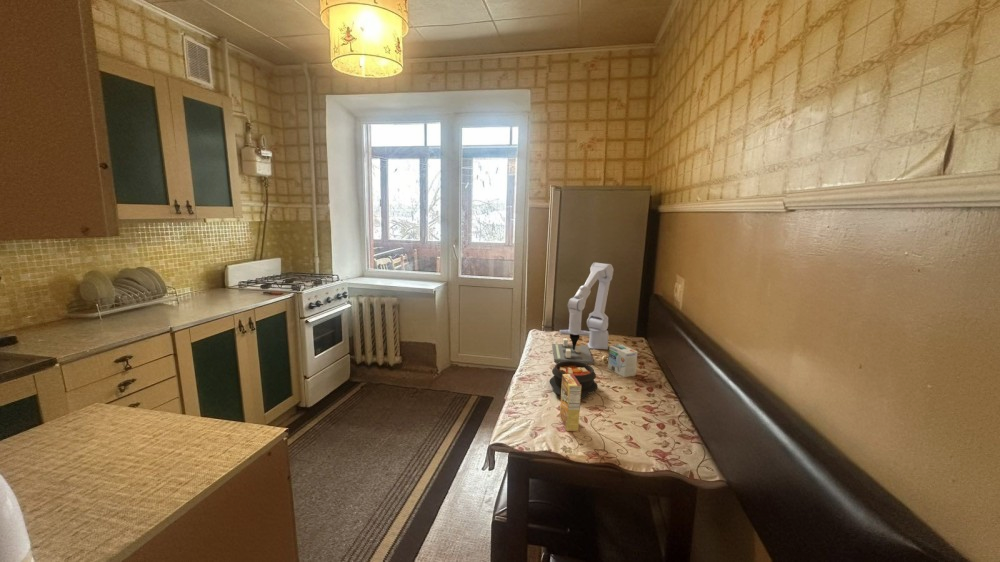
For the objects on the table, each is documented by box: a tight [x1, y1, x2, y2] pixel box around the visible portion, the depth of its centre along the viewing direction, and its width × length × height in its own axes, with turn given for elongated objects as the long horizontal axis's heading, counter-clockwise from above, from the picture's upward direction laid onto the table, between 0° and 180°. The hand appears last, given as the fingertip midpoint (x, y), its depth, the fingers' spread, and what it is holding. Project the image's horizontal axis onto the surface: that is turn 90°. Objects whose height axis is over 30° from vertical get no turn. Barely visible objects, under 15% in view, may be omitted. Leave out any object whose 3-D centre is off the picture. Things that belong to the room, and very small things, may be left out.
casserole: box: [549, 361, 598, 399], centre depth 147 cm, size 25×19×8 cm
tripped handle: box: [575, 342, 581, 352], centre depth 183 cm, size 2×3×4 cm, turn 175°
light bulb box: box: [607, 343, 638, 378], centre depth 163 cm, size 11×7×11 cm, turn 25°
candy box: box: [559, 374, 582, 432], centre depth 120 cm, size 9×4×15 cm, turn 6°
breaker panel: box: [551, 337, 595, 365], centre depth 183 cm, size 18×22×5 cm
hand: (573, 349), depth 183 cm, fingers closed
